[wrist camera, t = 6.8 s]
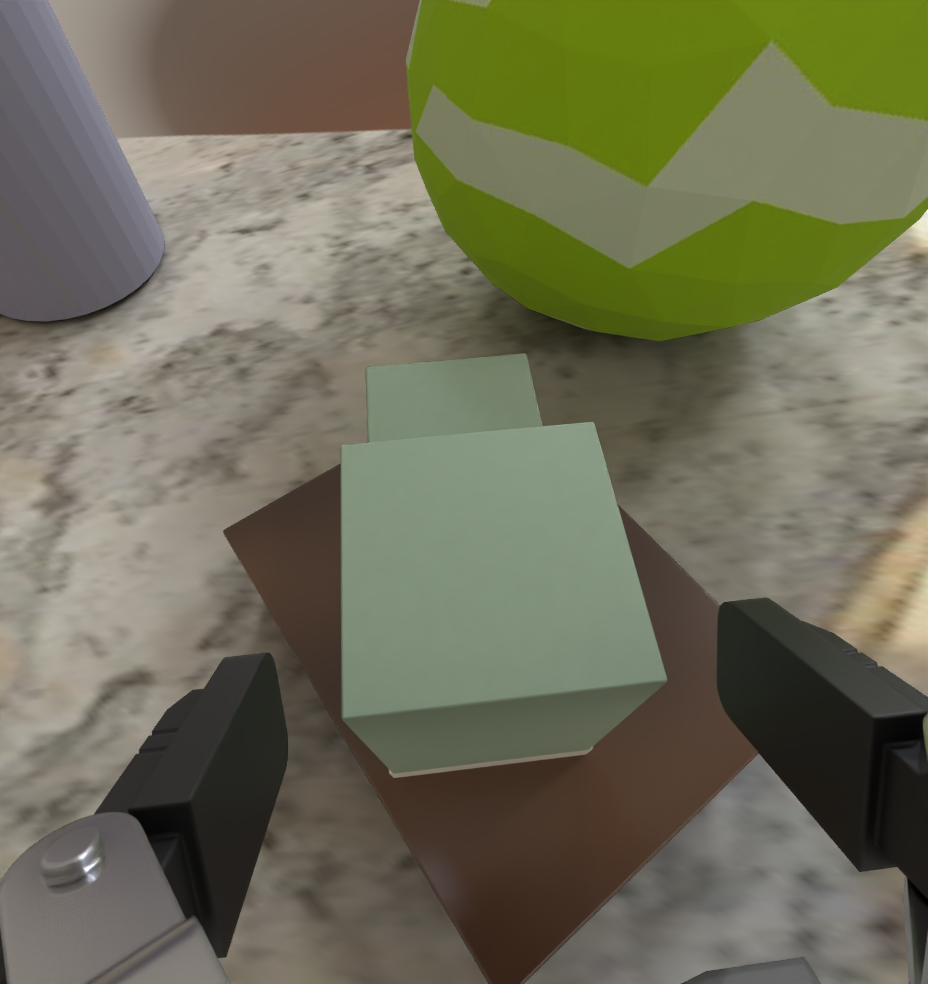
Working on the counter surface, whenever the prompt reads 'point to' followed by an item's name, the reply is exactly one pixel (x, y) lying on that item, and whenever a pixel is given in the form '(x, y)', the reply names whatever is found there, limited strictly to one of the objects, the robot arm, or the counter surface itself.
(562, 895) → the shoe shelf
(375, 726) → the sage green stepped block
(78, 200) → the container
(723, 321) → the melon
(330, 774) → the counter surface
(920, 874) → the robot arm
